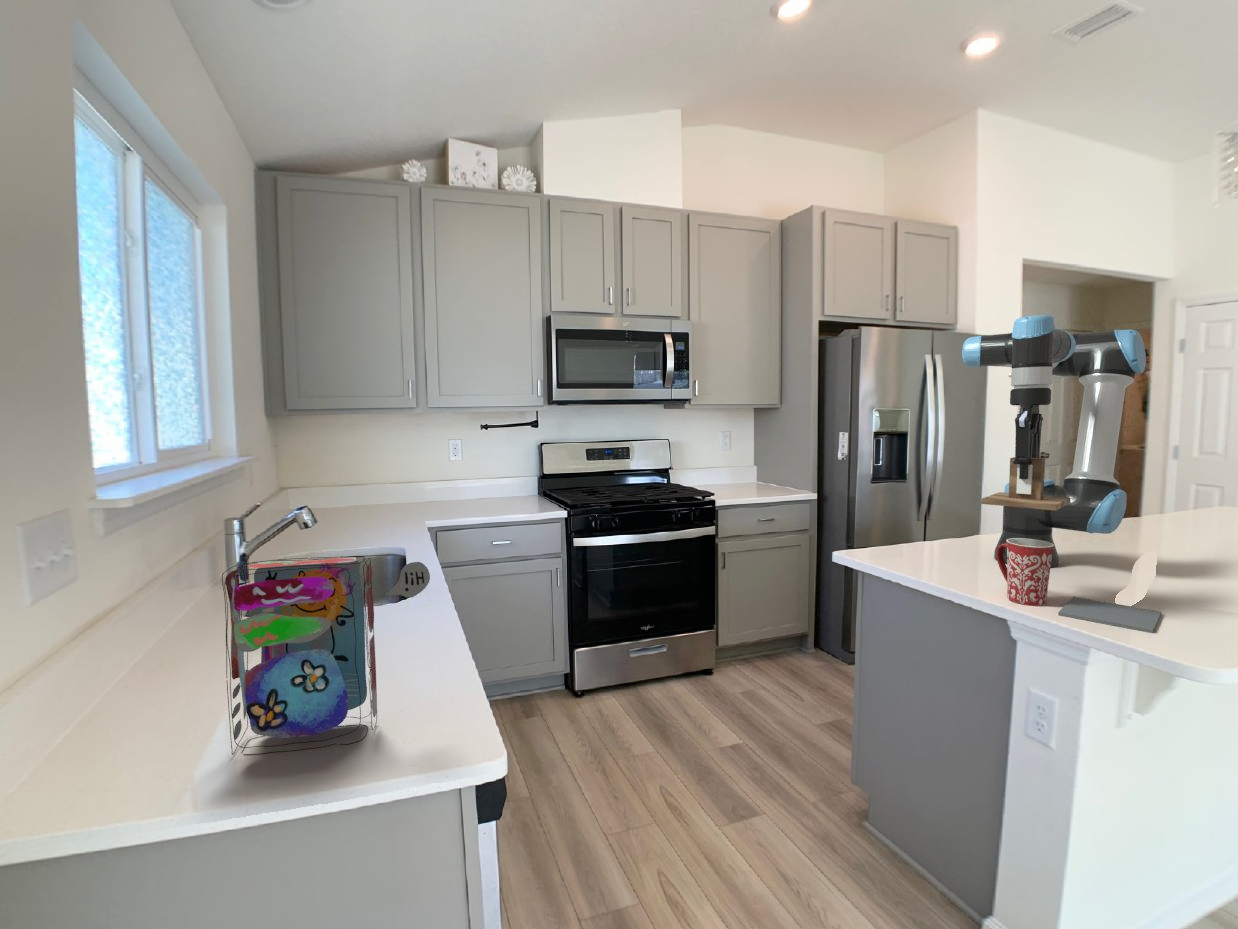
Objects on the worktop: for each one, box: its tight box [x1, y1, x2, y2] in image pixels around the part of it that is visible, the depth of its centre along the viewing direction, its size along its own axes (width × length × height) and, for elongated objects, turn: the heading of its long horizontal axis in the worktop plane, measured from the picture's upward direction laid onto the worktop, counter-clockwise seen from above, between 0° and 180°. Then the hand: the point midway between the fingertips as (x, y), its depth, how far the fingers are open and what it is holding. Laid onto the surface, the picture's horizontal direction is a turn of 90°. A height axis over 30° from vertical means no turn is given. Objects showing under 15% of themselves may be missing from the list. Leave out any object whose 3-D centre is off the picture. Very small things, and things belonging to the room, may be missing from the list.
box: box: [221, 555, 431, 756], centre depth 83 cm, size 25×6×24 cm, turn 102°
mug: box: [996, 538, 1055, 607], centre depth 138 cm, size 13×9×14 cm
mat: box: [1057, 596, 1163, 634], centre depth 127 cm, size 15×15×1 cm
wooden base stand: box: [980, 456, 1070, 510], centre depth 137 cm, size 14×14×10 cm
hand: (1026, 492), depth 137 cm, fingers closed on wooden base stand, 3 cm apart
